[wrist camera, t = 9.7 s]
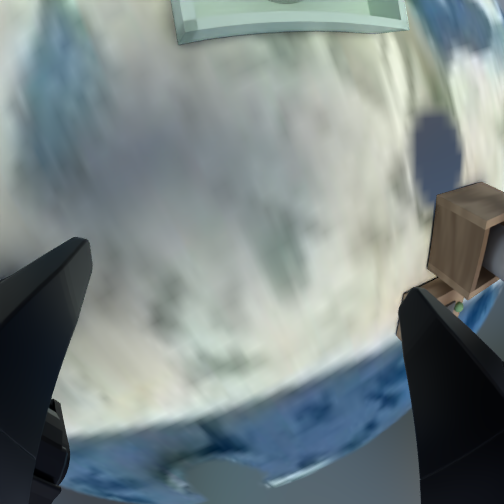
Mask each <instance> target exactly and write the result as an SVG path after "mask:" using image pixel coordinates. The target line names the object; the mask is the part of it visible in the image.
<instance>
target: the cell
mask: <svg viewBox="0 0 504 504" xmlns="http://www.w3.org/2000/svg"><path fill="white" fill-rule="evenodd" d="M268 1H271V2H274V3H280V4H293V3H298V2H301V1H303V0H268Z"/></svg>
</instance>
